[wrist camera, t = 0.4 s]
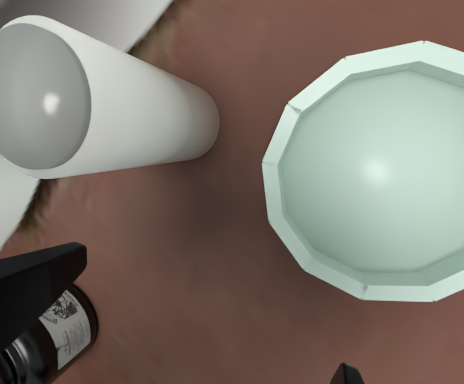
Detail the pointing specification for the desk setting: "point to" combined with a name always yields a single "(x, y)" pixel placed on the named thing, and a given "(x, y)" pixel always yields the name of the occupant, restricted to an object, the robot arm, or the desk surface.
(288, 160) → the bowl
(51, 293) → the robot arm
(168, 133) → the white cylinder
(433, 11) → the desk surface
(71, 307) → the ink bottle
